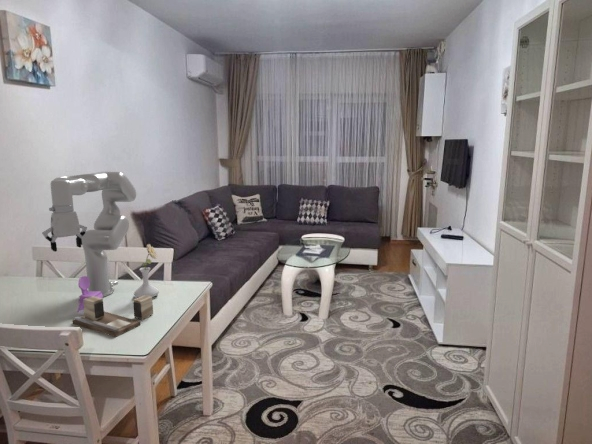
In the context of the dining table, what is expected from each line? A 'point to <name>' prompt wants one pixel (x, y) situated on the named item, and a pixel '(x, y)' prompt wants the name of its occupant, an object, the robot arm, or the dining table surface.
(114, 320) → the rail board
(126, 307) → the dining table surface
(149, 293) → the flower in vase
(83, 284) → the toy chair
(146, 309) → the wooden block
